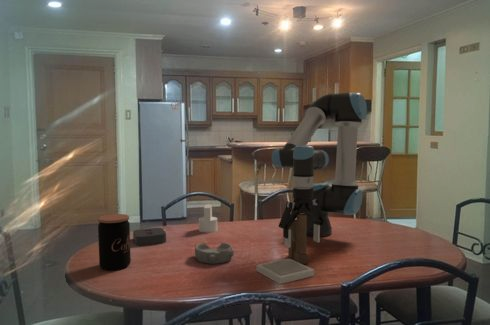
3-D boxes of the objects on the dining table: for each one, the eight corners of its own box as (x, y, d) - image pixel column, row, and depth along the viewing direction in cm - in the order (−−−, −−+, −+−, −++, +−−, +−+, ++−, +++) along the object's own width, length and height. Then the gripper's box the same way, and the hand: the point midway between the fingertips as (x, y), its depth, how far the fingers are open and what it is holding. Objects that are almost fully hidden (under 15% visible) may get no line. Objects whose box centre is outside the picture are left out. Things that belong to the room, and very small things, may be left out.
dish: (191, 256, 158) (190, 243, 157) (224, 251, 163) (224, 239, 163) (202, 268, 144) (201, 254, 144) (238, 262, 150) (238, 249, 149)
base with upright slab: (216, 233, 191) (216, 208, 190) (197, 233, 191) (197, 208, 190) (218, 228, 200) (218, 204, 199) (199, 228, 200) (199, 204, 199)
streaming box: (132, 240, 181) (132, 230, 180) (161, 237, 186) (160, 227, 185) (137, 248, 169) (136, 237, 169) (167, 244, 174) (167, 234, 174)
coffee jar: (113, 273, 139) (111, 221, 137) (93, 268, 144) (91, 218, 143) (137, 264, 148) (135, 215, 146) (117, 259, 153) (115, 212, 152)
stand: (256, 270, 141) (256, 263, 141) (289, 263, 148) (289, 257, 148) (279, 284, 129) (280, 276, 129) (314, 275, 136) (314, 268, 136)
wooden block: (296, 255, 158) (297, 209, 156) (308, 264, 147) (308, 215, 146) (287, 256, 157) (288, 210, 155) (298, 265, 146) (299, 216, 145)
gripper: (281, 191, 140) (280, 251, 142) (335, 186, 153) (334, 241, 155) (269, 188, 147) (268, 246, 149) (322, 184, 160) (321, 237, 161)
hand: (302, 244), depth 152 cm, fingers open, 13 cm apart
